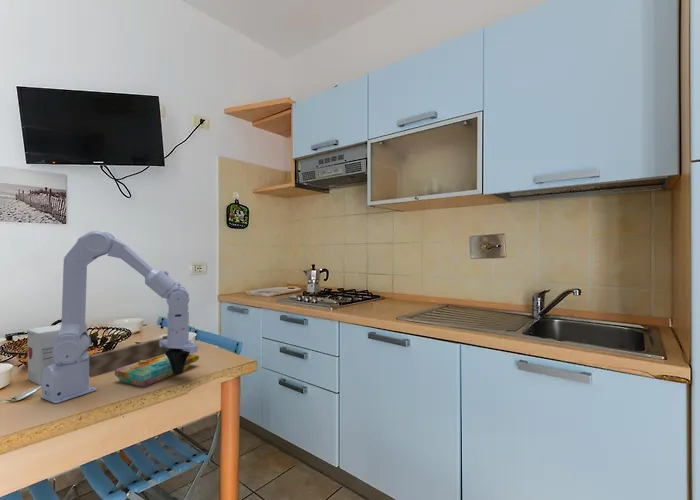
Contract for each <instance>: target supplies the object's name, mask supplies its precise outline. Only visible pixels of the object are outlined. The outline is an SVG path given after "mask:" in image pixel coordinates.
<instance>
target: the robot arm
mask: <svg viewBox="0 0 700 500" xmlns="http://www.w3.org/2000/svg"><path fill="white" fill-rule="evenodd" d="M105 255H107V257H111V258H115V259H121V260H122V261H123V262H125V263H126V264H127V265H129V266H130V267H131V268H133V270H135V271H136V272H137V273H139V274H140V275H141V276H143V278H144V284H145V285H146V286H147V287H148V288H149V289H150V290H152V291H153V292H154V293H156V294H157V295H158V296H159V297H161V298H162V299H166V303H167V305H168V312H167V319H166V320H167V328H166V329H167V334H166V336H167V339H164V340H160V341H159V347H167V348H170V349H169V351H166V352H165V354H166V356H167V357H168V359H169V361H170V364H171V367H172V371H173V374H174V375H175V376H178V375H181V374H183V372H184V371H183V368H184V365H185V362H186V359H187V357H188V355H189V354H192V355H193V354H195V353H198V351H199V350H198V348H199V346H198V345H196V344H194V343H192V339H190V338H189V330H190V329H189V327H190V318H189V316H190V312H189V305H188V304H189V302H190V294H189V292H188V290H187V289H186V287H185V286H184V287H183V286H182V284H181V283H180V282H177V281H175V280H174V279H173V278H172V277H171V276H169V274H170V273H169V272H168V271H167V270H163V269H160V268H158V269H157V268H155V269H154V268H153V267H152V265H149V264H148V263H147V262H146V261H145V260H144V259H143V258H142V257H141V256H140V255H139V254H137V252H136V251H134V250H133V249H132V248H131V247H130V246H129V245H127V244H125V242H123V241H121V240H120V239H118V238H116V237H115V236H114V235H113V234H112V233H109V232H106V231H100V230H92V231H89V232H87V233H85V234H84V235H82V236H80V237H79V238H78V239H77V240H76V243H75V244H74V245H73V246H72V247H71V249H70V250H69V251H68V252H67V254H66V255H65V256H64V258H63V268H62V272H63V273H62V274H63V275H62V296H61V297H62V298H61V299H62V300H61V306H62V307H61V324H62V325H61V328H60V331H59V333H58V338H57V343H56V344H55V346H54V348H53V350H52V355H53V357H54V359H55V363H54V364H52V365H50V366H47V367H45V368H44V369H43V371H42V385H41V395H40V398H41V399H43V400H46V401H47V402H51V403H53V404H58V403H62V402H65V401H68V400H71V399H74V398H77V397H80V396H82V395H86V394H89V393H93V392H95V391H97V387H94V386H90V376H89V356H90V354H89V353H88V352H87V350H88V349H89V348H90V346H91V343H92V339H91V336H89V334H88V326H87V323H86V308H87V307H86V306H87V304H86V303H87V301H86V300H87V277H88V276H87V275H88V274H87V273H88V266H89V264H92V262H94V261H96V259H98V258H99V257H102V256H105ZM174 375H173V376H174Z"/></svg>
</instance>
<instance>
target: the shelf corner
mask: <svg viewBox="0 0 700 500" xmlns="http://www.w3.org/2000/svg"><path fill="white" fill-rule="evenodd" d="M164 339H167V335H163V336H162V337H160V338H156V339H152V340H148V341H144V342H140V343H139V342H138V343H136V344H131V345H127V346H122V347H119V348H115V349H111V350H107V351H102V352H98V353H95V354H91V355H90V354H89V377H91V378H92V377H96V376H99V375H102V374H105V373H110V372H112V371H115V370H116V369H118V368H121V367H124V366H127V365H131V364H134V363H137V362H139V361H141V360H147V359H150V358H153V357H157V356H160V355H163V354H165V352H166V351H169V349H170V348H167V347H159V341H160V340H164Z"/></svg>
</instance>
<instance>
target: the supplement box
mask: <svg viewBox="0 0 700 500" xmlns="http://www.w3.org/2000/svg"><path fill="white" fill-rule="evenodd" d="M61 325H62V323H60V324H55V325H47V326H41V327H34V328H28V329H27V380H29V381H31V382H33V383H34V384H36V385H38V386H42V371H43V369H44V368H45V367H47V366H50V365H52V364H54V363H55V359H54V357H53V355H52V350H53V348H54V346H55V344H56V343H57V338H58V333H59V331H60V328H61Z"/></svg>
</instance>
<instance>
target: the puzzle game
mask: <svg viewBox="0 0 700 500" xmlns="http://www.w3.org/2000/svg"><path fill="white" fill-rule="evenodd" d="M199 360H200V355H197V354H196V355H195V354H193V353H192V354H191V353H190V354H189V355H188V357H187V359H186V362H185V365H184V368H183V372H184V371H186V370H188V369H189V368H190V365H191V364H193V363H195V362H198V361H199ZM114 376H115V377H116V378H118V380H119V381H120V382H122V383H126V384H128V385H129V384H131V385H134V386H139V387H147V386H149V385H151V384H154V383H156V382H159V381H161V380H164V379H166V378H170V377H171V376H174V374H173V371H172V367H171V364H170V361H169V359H168V357H167V356H166V354H163V355H160V356H157V357H153V358H150V359H147V360H141V361H139V362H137V363H134V364H131V365H127V366H124V367H121V368H118V369H116V370H114Z"/></svg>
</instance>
